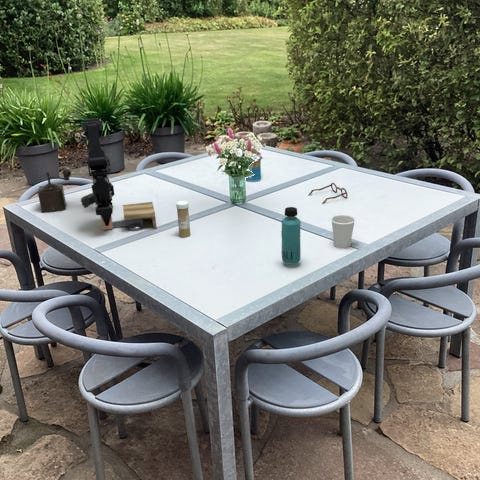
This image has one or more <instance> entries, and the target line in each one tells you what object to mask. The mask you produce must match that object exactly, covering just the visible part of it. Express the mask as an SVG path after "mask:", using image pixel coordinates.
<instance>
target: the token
mask: <svg viewBox="0 0 480 480" xmlns="http://www.w3.org/2000/svg"><path fill="white" fill-rule="evenodd" d="M128 227H129V231H131V232H139V231H142V230H143V224H140V223H134V224H131V225H128Z"/></svg>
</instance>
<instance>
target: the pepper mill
mask: <svg viewBox="0 0 480 480" xmlns="http://www.w3.org/2000/svg"><path fill="white" fill-rule="evenodd" d="M61 173H62V175H63V177H61V176H54V175H53V176H51V175H50V172H48V171H47V172H46V173H45V174H46V178H47V182H48V183H47V184H45V185H41V186H39V188H38V191H37V195H38V201H39V206H40V210H41V213H42V214H44V213H54V212H61V211H64V210H66V209H67V201H66V196H65V190H64V189H65V188H64V185H63V183H60V184H59V183H58V184H57V183H53V182H52V183H51V179H54V180H55V179H57V180H64V181H65V182H67V181H70V176H72V171H71V170H70V169H68V168H66V169H65V168H64V169H63V170H62V172H61Z"/></svg>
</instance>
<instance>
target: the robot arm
mask: <svg viewBox="0 0 480 480" xmlns="http://www.w3.org/2000/svg"><path fill="white" fill-rule="evenodd" d="M81 129H82V130H81V131H82V132H84V136H85V137H86V139H88V140H89V141H88V142H89V148H90V149H89V150H88V153H87V157H88V158H86V162H87V169H88V175H89V176H88V177H91V178H92V184H91V193H88V194H86V195H84V196H82V197H81V198H80V203H81V205H82V207H83V208H84V209H86V208H89V207H90V206H91V205H95V215H96V216H100V215H101V216H102V218H103V220H104V223H105V225H106V226H109V222H110V218H111V217H112V216H113V214H114V212H113V211H114V209H113V207H114V206H113V202H112V201H113V197H114V196H115V189H114V188H115V187H114V185H113V184H112V182H110V178H109V176H108V175H110V174H111V173H110V172H111V171H112V168H111V163H110V159H109V157H108V156H106V153H105V150H104V149H103V148H101V147H102V146H101V139H102V138H101V137H102V135H103V131H104V125H103V120H100V119H99V117H97V118H96V117H95V118H86V119H85V118H84V119H83V122H81Z"/></svg>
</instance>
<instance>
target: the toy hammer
mask: <svg viewBox="0 0 480 480" xmlns="http://www.w3.org/2000/svg"><path fill="white" fill-rule="evenodd" d="M99 217H100V223H101V228H102V231H103V230H111V229H114V228H118V227H127V226H128V227H129V226H130V225H131V224H134V223H140V224H142V225H143V224H144V220H142V218H141V219H132V220H124V219H122V220H114V221H113V218H112V216H111V218H110V222H109V226H106V225H105V223H104V220H103V218H102V216H101V215H99Z"/></svg>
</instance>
